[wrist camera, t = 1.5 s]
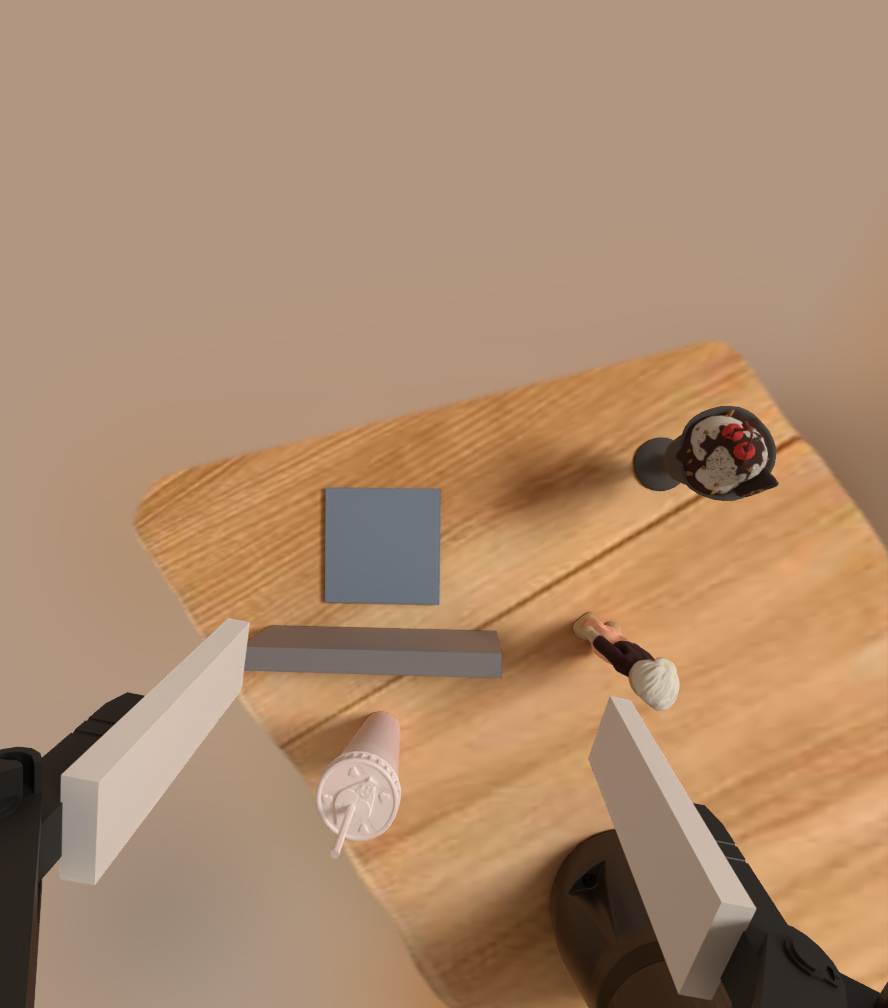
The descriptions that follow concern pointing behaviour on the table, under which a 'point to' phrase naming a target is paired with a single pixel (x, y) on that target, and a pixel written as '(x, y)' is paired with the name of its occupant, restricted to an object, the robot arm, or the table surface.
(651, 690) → the grandmother figurine
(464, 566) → the table surface
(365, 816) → the smoothie
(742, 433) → the sundae
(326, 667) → the divider wall
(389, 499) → the mat
